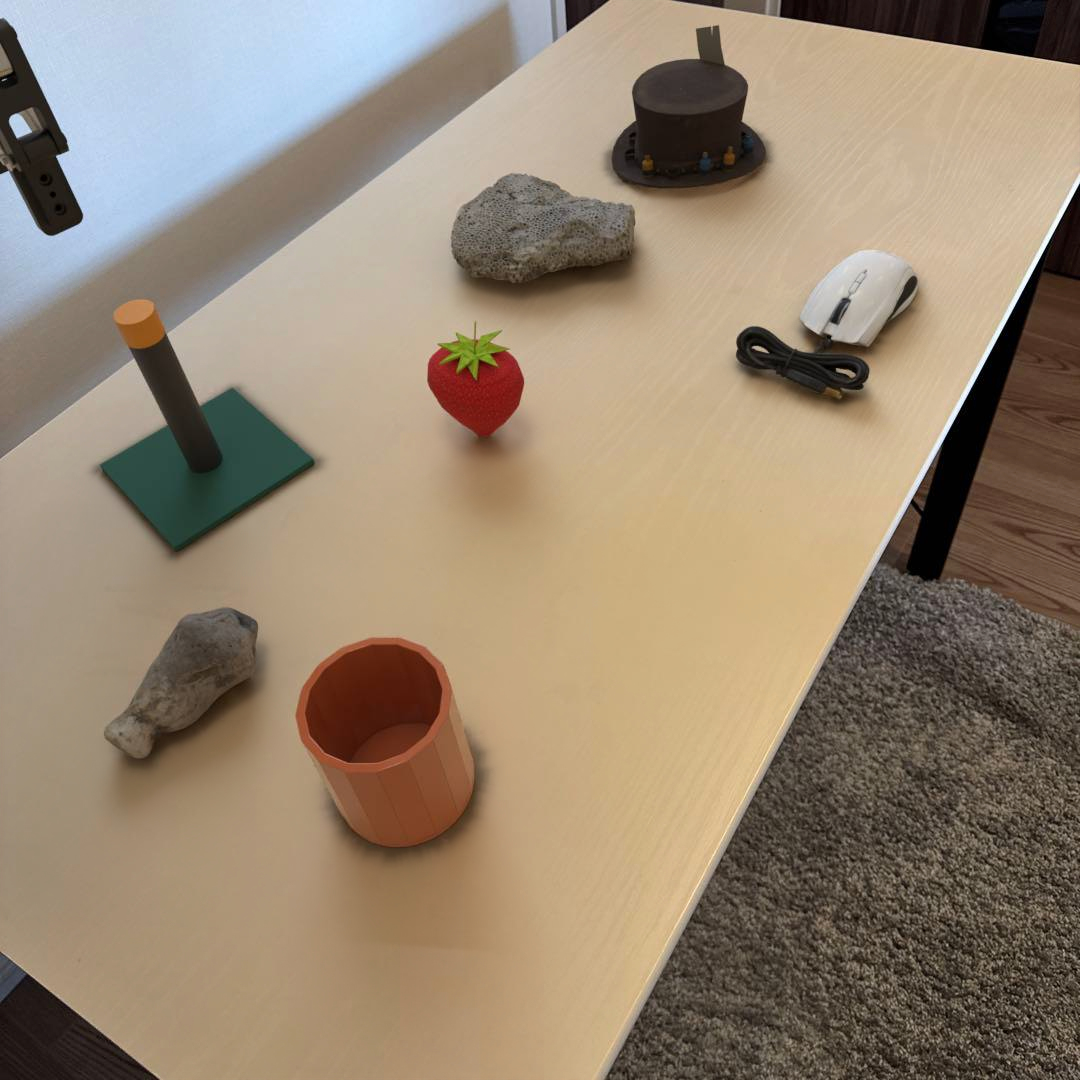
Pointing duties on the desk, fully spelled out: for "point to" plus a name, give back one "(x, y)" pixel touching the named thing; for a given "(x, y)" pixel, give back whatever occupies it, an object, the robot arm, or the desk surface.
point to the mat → (207, 498)
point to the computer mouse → (837, 322)
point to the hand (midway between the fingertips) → (30, 198)
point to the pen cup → (387, 740)
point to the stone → (187, 677)
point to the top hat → (689, 123)
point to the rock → (537, 230)
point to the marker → (168, 383)
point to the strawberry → (476, 382)
